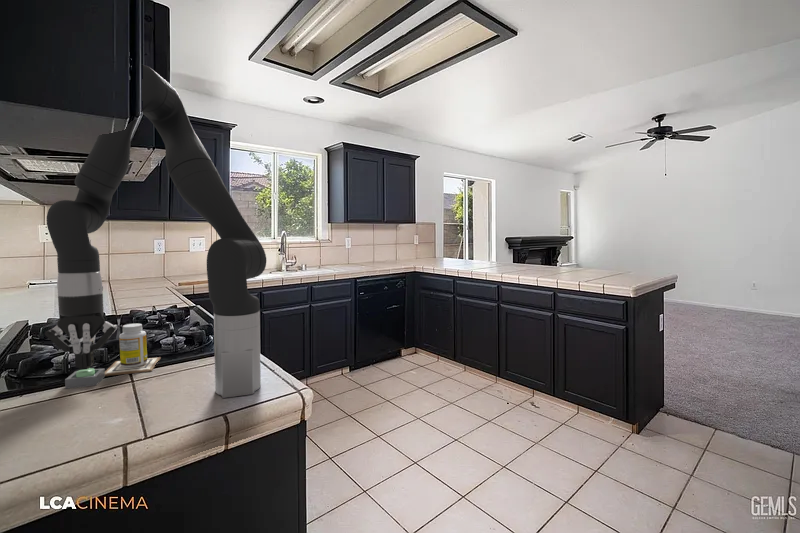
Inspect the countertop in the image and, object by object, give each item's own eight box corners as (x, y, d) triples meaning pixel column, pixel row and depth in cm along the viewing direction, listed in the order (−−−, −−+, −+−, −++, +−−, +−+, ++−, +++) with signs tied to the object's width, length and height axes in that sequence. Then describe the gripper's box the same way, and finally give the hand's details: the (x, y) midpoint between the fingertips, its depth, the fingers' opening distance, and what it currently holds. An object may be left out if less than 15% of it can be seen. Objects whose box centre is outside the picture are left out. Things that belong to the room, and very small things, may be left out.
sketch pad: (151, 371, 91) (151, 369, 91) (101, 376, 87) (101, 374, 87) (160, 358, 100) (160, 356, 100) (115, 362, 96) (115, 360, 96)
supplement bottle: (138, 359, 97) (136, 321, 96) (152, 362, 95) (151, 323, 94) (115, 366, 92) (113, 326, 91) (129, 370, 90) (127, 328, 89)
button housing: (96, 385, 82) (95, 376, 82) (65, 388, 80) (64, 379, 80) (105, 376, 87) (104, 368, 87) (76, 379, 85) (75, 371, 85)
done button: (92, 382, 83) (91, 372, 82) (74, 384, 81) (73, 374, 81) (97, 377, 86) (96, 367, 85) (80, 379, 84) (79, 369, 84)
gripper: (32, 296, 76) (38, 378, 77) (111, 293, 81) (115, 370, 82) (50, 291, 83) (55, 366, 84) (122, 288, 88) (125, 360, 89)
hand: (85, 368), depth 83 cm, fingers closed
